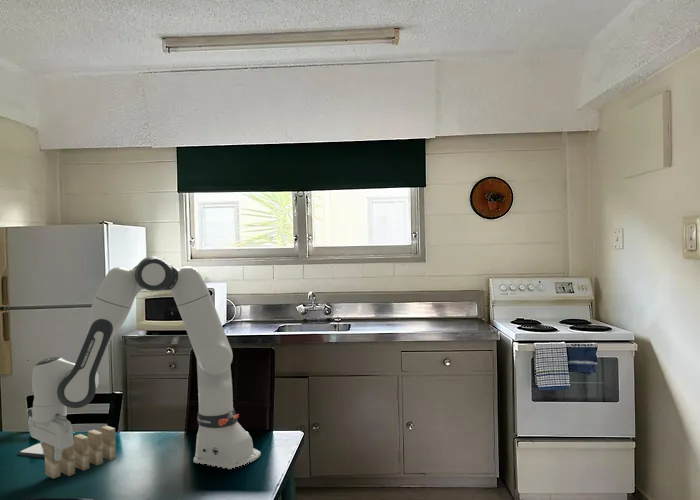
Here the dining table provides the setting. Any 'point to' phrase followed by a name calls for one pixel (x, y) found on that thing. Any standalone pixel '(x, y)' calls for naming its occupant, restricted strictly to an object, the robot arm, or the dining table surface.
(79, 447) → the tile
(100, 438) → the light brown wooden block
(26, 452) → the smartphone
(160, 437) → the dining table surface
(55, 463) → the tile
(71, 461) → the tile
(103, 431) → the tan rectangular block
